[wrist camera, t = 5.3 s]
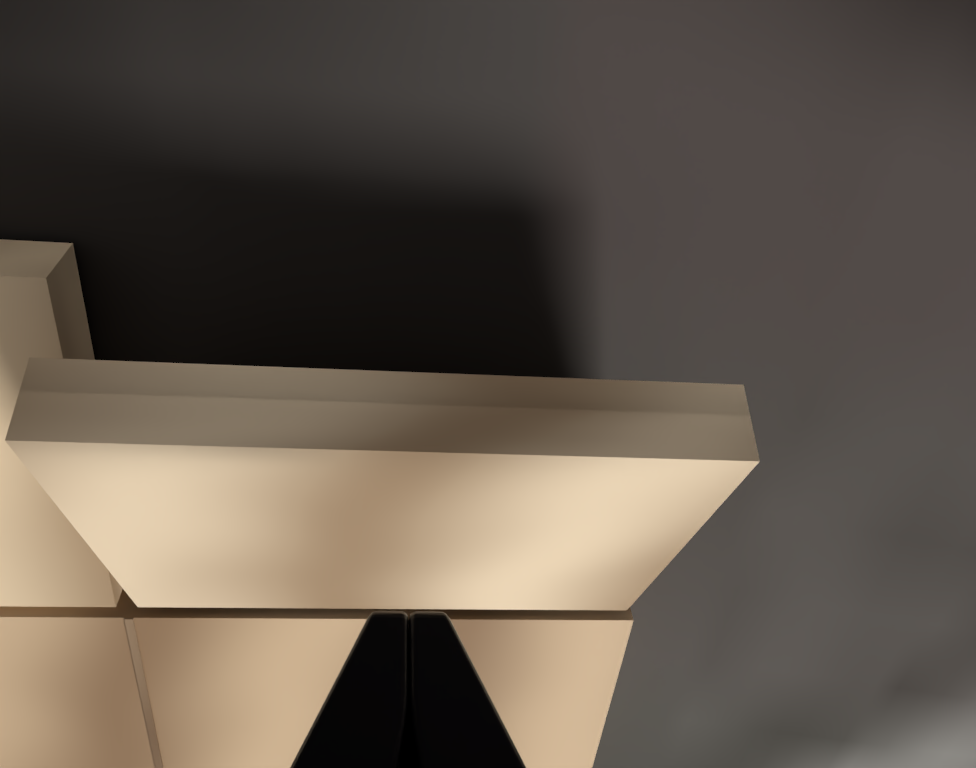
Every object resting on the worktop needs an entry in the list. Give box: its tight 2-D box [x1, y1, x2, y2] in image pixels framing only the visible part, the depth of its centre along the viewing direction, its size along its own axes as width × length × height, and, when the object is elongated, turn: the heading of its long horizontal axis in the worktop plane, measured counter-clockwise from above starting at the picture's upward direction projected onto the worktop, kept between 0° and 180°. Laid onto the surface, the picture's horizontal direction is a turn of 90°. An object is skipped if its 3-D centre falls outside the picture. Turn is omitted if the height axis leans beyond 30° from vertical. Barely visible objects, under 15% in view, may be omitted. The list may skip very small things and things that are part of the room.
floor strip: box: [0, 589, 633, 768], centre depth 19 cm, size 20×8×1 cm, turn 85°
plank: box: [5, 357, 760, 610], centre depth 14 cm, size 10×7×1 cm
